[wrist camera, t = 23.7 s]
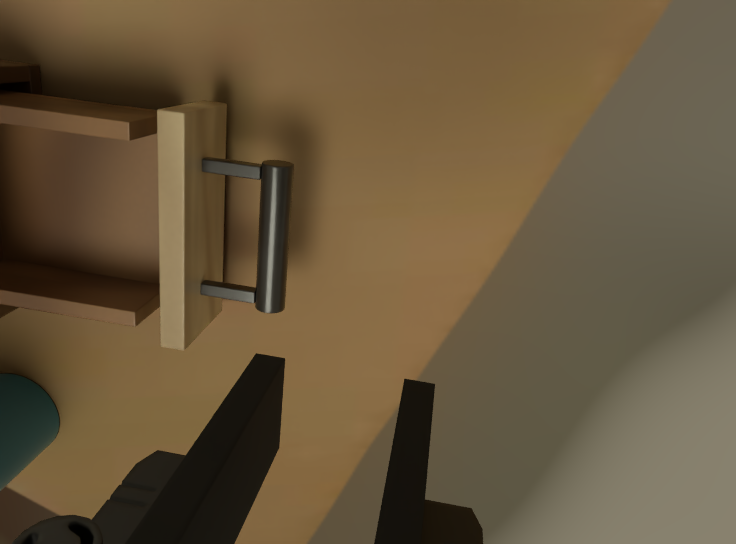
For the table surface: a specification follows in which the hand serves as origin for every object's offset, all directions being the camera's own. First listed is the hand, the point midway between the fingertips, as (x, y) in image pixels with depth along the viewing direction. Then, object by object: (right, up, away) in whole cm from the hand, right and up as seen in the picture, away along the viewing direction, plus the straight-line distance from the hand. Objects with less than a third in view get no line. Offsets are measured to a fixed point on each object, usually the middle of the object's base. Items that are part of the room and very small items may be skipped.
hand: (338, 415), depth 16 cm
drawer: (-11, +7, +16) cm, 20 cm away
